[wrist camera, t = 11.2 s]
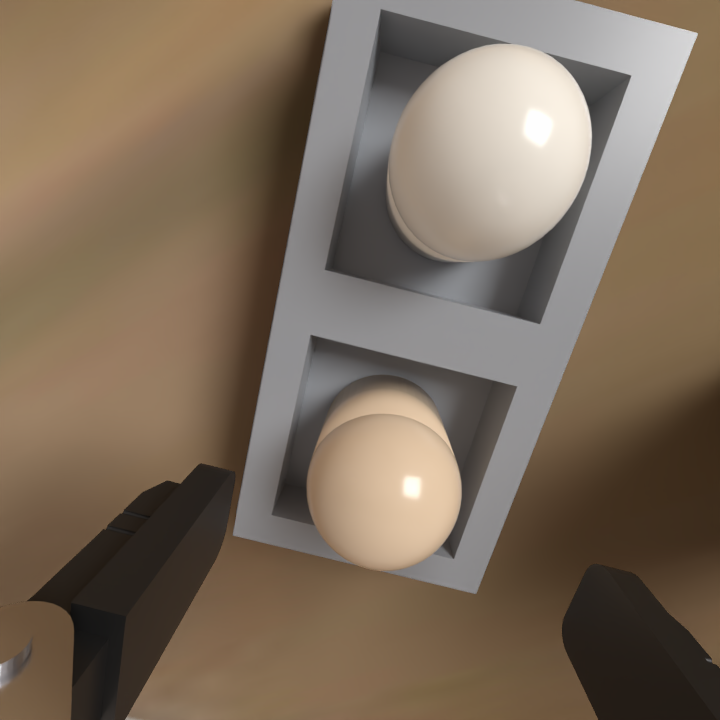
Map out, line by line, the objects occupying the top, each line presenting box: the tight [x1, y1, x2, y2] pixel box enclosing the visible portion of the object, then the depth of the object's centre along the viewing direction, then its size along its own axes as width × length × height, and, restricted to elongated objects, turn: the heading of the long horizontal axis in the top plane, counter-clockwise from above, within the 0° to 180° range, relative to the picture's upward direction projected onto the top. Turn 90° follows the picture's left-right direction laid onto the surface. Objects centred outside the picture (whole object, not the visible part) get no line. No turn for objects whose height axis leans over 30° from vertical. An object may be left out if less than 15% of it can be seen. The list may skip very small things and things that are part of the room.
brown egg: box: [307, 375, 462, 571], centre depth 12 cm, size 4×4×6 cm
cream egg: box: [385, 44, 592, 262], centre depth 10 cm, size 4×4×6 cm
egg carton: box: [233, 0, 698, 594], centre depth 13 cm, size 10×19×4 cm, turn 166°
